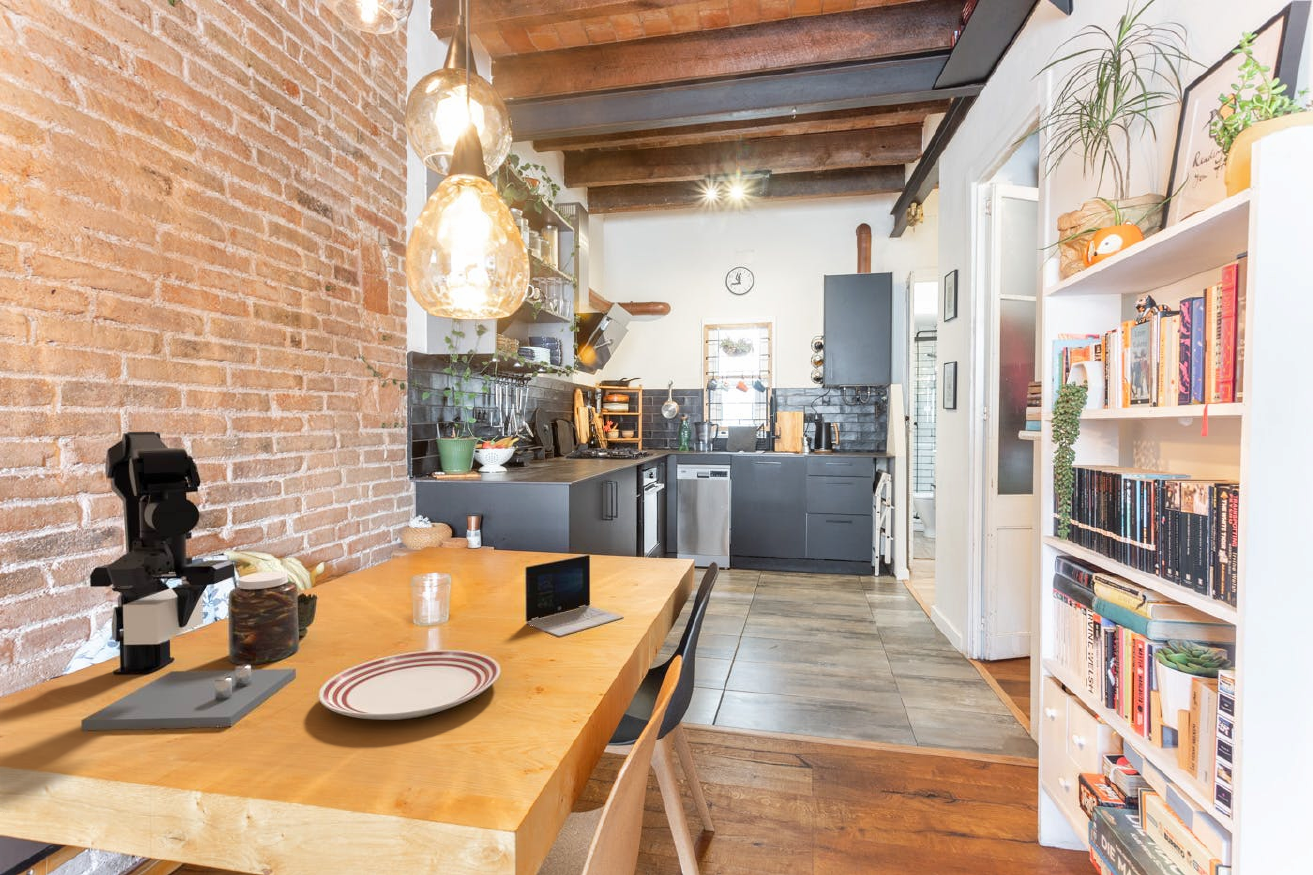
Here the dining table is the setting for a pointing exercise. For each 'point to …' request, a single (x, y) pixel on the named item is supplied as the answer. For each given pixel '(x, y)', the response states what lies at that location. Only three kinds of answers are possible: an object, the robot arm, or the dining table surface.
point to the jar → (263, 618)
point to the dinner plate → (409, 684)
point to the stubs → (225, 683)
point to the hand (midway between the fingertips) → (165, 627)
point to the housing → (156, 618)
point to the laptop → (562, 597)
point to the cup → (306, 612)
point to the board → (188, 701)
